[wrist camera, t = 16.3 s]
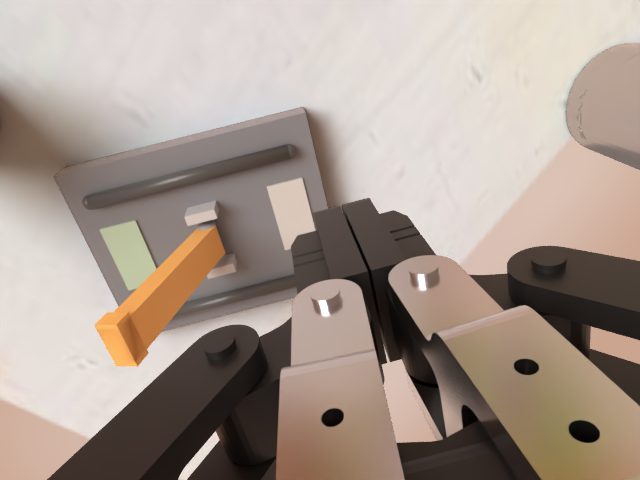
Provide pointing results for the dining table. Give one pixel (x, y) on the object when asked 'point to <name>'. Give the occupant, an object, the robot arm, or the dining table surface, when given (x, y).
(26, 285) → the dining table surface
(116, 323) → the breaker lever
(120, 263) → the breaker panel
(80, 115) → the dining table surface
